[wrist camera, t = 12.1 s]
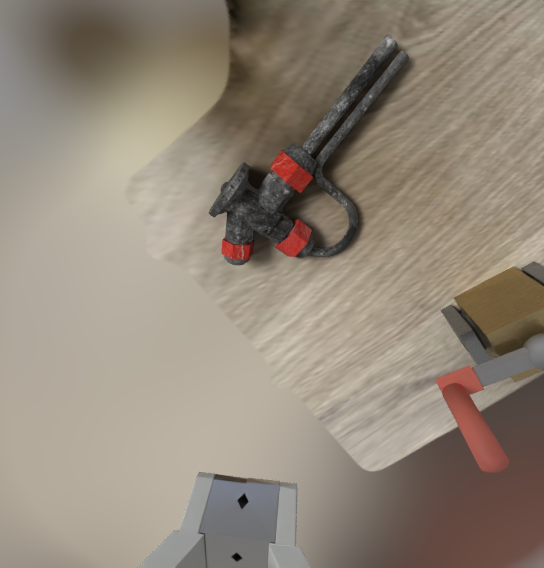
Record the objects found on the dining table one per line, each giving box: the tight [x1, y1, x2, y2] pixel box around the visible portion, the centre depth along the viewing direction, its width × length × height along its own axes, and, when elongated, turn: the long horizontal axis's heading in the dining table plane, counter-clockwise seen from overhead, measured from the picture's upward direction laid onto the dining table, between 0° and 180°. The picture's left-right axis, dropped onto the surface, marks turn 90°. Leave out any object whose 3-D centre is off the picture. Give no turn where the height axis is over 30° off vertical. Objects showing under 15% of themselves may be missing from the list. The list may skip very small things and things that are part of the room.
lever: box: [435, 333, 544, 473], centre depth 29 cm, size 12×3×9 cm, turn 124°
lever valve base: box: [441, 262, 544, 382], centre depth 36 cm, size 11×7×8 cm, turn 128°
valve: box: [209, 35, 409, 265], centre depth 35 cm, size 6×26×15 cm
